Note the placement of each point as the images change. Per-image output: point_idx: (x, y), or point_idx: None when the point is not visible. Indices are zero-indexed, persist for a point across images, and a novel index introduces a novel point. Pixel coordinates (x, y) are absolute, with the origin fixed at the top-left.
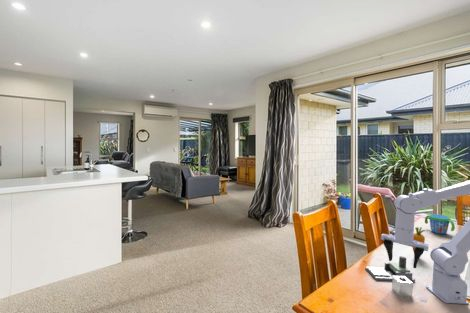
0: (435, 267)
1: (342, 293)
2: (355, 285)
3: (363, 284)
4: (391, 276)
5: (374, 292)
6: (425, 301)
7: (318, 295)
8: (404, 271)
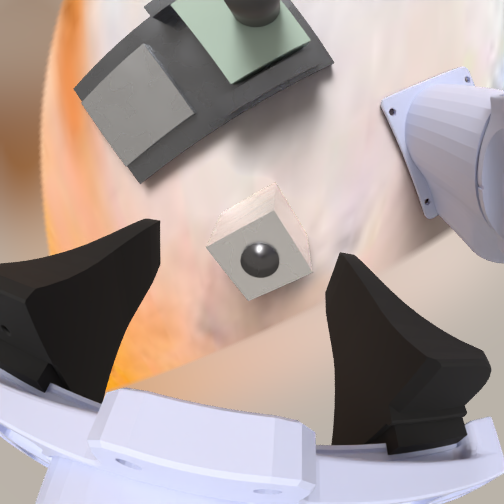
0: (488, 182)
1: None
2: None
3: None
4: (204, 105)
5: (169, 285)
6: (354, 244)
7: None
8: (272, 61)
